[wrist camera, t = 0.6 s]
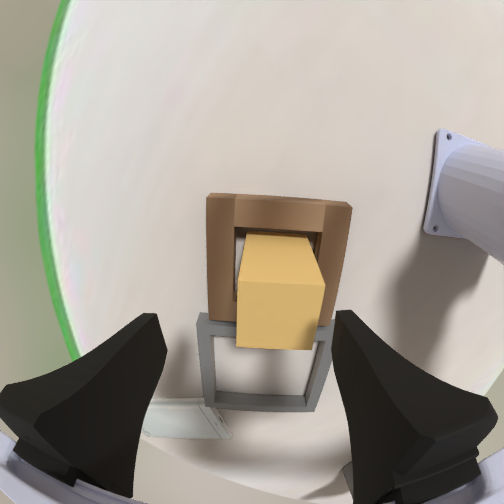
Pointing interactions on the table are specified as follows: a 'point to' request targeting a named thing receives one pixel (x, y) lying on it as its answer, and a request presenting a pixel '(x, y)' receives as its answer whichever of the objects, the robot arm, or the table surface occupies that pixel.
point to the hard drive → (184, 420)
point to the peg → (278, 292)
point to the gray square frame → (254, 401)
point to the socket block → (274, 217)
